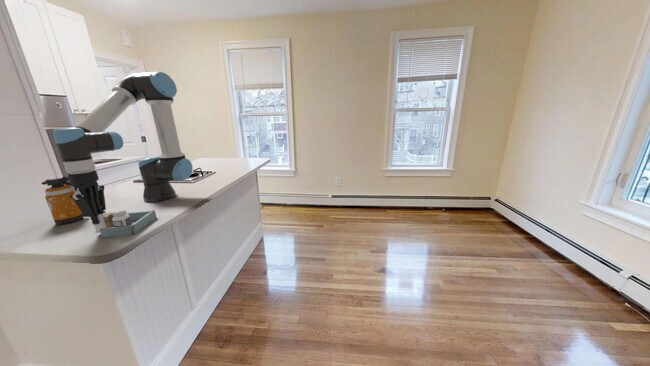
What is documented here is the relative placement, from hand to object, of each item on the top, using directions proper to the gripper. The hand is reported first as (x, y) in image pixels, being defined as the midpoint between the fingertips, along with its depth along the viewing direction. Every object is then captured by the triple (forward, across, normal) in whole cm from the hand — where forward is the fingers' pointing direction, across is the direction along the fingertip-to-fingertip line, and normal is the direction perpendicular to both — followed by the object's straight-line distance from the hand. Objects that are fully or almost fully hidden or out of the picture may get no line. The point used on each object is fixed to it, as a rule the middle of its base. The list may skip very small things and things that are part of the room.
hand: (101, 230), depth 90 cm
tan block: (+2, -8, -3) cm, 9 cm away
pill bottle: (+2, 0, +8) cm, 8 cm away
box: (+1, -4, +8) cm, 9 cm away
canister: (+2, -20, -24) cm, 31 cm away
